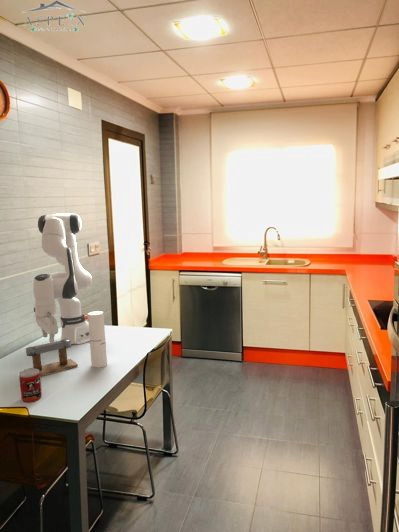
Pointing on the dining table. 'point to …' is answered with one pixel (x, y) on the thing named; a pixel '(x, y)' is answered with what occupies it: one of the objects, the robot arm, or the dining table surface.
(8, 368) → the dining table surface
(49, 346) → the metal bar
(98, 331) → the cylindrical container
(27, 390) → the canned food
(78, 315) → the robot arm
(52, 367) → the spanner rest
